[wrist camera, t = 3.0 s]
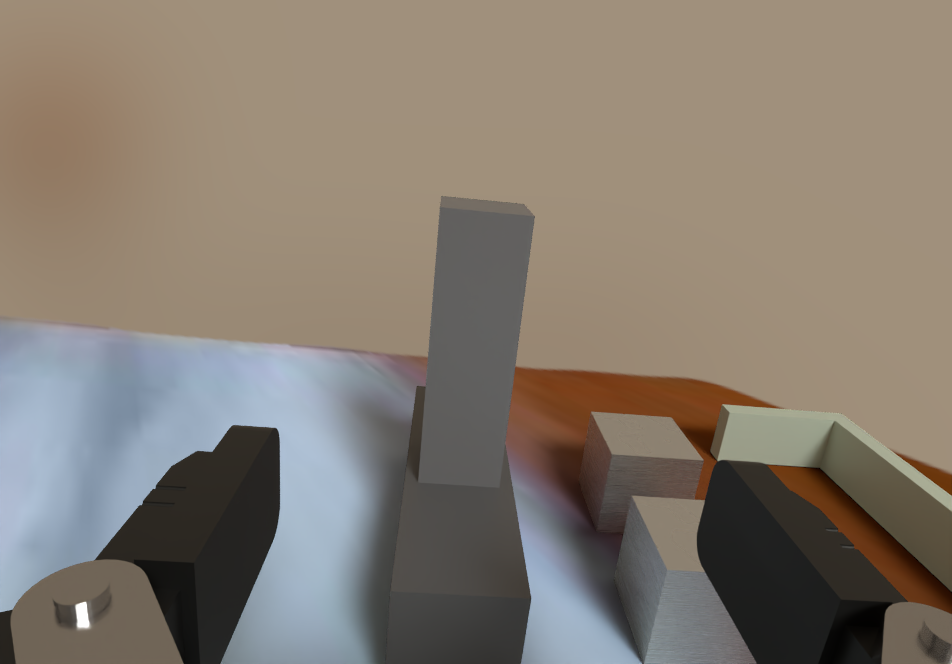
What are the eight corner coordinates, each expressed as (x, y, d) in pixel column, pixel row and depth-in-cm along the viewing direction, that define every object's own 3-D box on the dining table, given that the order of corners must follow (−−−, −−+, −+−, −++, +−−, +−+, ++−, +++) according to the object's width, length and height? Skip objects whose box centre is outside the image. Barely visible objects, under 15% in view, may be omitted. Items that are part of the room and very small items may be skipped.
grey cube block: (596, 533, 27) (611, 454, 26) (578, 483, 31) (590, 411, 29) (683, 538, 27) (703, 460, 26) (655, 488, 31) (671, 417, 30)
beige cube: (643, 667, 20) (667, 569, 19) (613, 581, 24) (631, 495, 23) (758, 672, 21) (789, 576, 19) (710, 587, 24) (734, 502, 23)
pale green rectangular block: (981, 797, 17) (1023, 718, 16) (710, 451, 35) (721, 404, 34) (1209, 804, 18) (1262, 728, 17) (826, 459, 36) (841, 413, 35)
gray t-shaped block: (382, 698, 18) (413, 237, 14) (411, 456, 32) (432, 180, 27) (514, 703, 19) (586, 253, 14) (488, 461, 32) (521, 189, 27)
